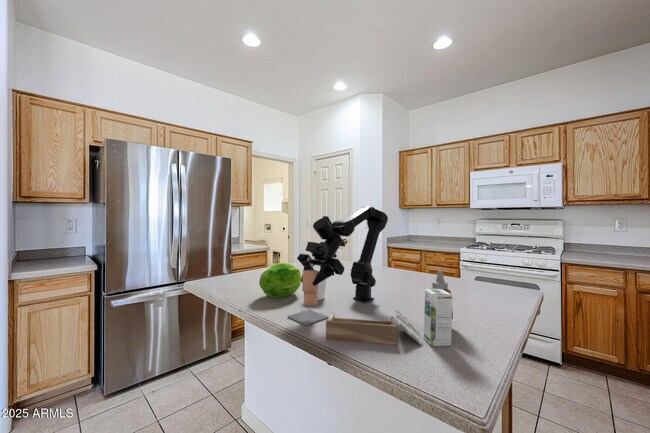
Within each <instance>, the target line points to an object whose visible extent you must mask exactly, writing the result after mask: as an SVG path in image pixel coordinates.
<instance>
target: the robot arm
mask: <svg viewBox="0 0 650 433" xmlns="http://www.w3.org/2000/svg"><path fill="white" fill-rule="evenodd" d="M364 221H366V224H367V228H368V231H367V234H366V238H365V240H364V243H363V246H362V250H361V254H360V256H359V259H358V260H357V261H353V263H352V266H351V269H350V279H351V284H353V285H355V291H354V292H355V296H354V297H353V298H352V299H354V300H356V301H359V302H362V303H366V302H371V301H374V299H375V298H374V297H372V288H374V287H376V283H377V282H376V281H377V280H376V278H375V276H374V275H373V271H374V270H373V267H372V261H373V257H374V253H375V250H376V247H377V242H378V239H379V235H380V233H381V232H382V231H383V230H384V229H385V228H386V225H387V223H388V221H389V217H388V215H387V214H386V212H383V211H381V210H379V209H376V208H375V207H373V206H362V207H361V208H360V209H359V210H357V211H355V212H354V213H352V214H351V215H349V216H347V217H346V218H341V219H338V220H335V221H333V222H332V221H331V219H330V217H329V215H324V216H322V217H321V218H319V219H317V220H316V221H315V222H314V223H313V225H312V228H313V230H314V231H315V232H316V234H317V235H318V237H319V238H320V239H321V240H324V241H320V243H319V242H316V241H315V242H314V241H307V244H306V247H305V252H309V253H311V256H312V257H313V258H312V257H311V256H310V254H308V253H299V255H298V256H297V257H296V259H297V260H298V261H299V263H300V264H301V266H303V270H302V272H303V271H304V270H315V269H314V267H315V266H318V267H319V270H318V274H317V276H316V278H315V280H314V282H313V285H314V286H315V285H317V284H319V283H320V282H322V281H323V280H325V279H326V280H327V279H328V278H330V277H332V276H335V275H339V276H342V275H343V274H344V272H345V266H344V264H343V263H342V262H341V260H340V259H339V258H337V257H338V255H337V254H336V253H337V252H338V250H339V249H340V247H346V243H345V239H344V238H342V237H349V236H351V235H352V234H353V233H354V232H355V229H356V227H357V226H359V225H360V224H361V223H362V222H364ZM301 283H302V284H303V273H301Z"/></svg>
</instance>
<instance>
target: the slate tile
mask: <svg viewBox="0 0 650 433" xmlns="http://www.w3.org/2000/svg"><path fill="white" fill-rule="evenodd" d="M287 318H288V319H290V320H292V321H295V322H297V323H300V324H302V325H304V326H306V327H308V326H311V325H314V324H316V323H319V322H321V321H325V320H328V319H330V317H329V316H328V315H325V314H322V313H319V311H314V310H312V309H305V310H302V311H299V312H296V313H294V314H290V315H287Z"/></svg>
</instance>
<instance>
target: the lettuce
mask: <svg viewBox="0 0 650 433" xmlns="http://www.w3.org/2000/svg"><path fill="white" fill-rule="evenodd" d="M301 278H302V273H301V271H300V269H299V268H298V267H296V266H295V265H292V264H290V263H287V262H278V263H274V264H272V265H271V266H269V267H268V268H266V269H265V270H264V271H263V272H262V274H261V275H260V277H259V287H260V289H261V290H262V291H263V294H265V295H266V296H268V297H270V298H276V299H282V298H286V297H288V296H291V295H292V294H294V293H296V292H297V291H298V290H299V288H300V286H301V283H302V282H301Z"/></svg>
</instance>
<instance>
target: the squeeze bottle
mask: <svg viewBox="0 0 650 433" xmlns="http://www.w3.org/2000/svg"><path fill="white" fill-rule="evenodd" d="M431 283H432V284H431V285H432V287H430V288H429V289H443V290H444V291H446V292H448V293H450V294H452V292H451V290H450V289H449V283H448V282H446V281H445V278H444V273H443V270H438V271H437V275H436V279H435V280H432V282H431ZM453 319H454V311H453V308H452V320H453Z"/></svg>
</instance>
